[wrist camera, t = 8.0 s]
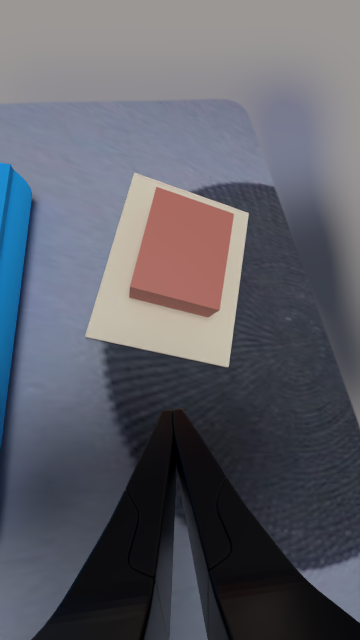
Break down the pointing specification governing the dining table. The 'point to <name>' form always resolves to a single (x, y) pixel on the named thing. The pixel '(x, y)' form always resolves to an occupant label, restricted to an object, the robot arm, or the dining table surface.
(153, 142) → the dining table surface
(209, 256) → the card box
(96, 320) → the mat
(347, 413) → the dining table surface
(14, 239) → the book
